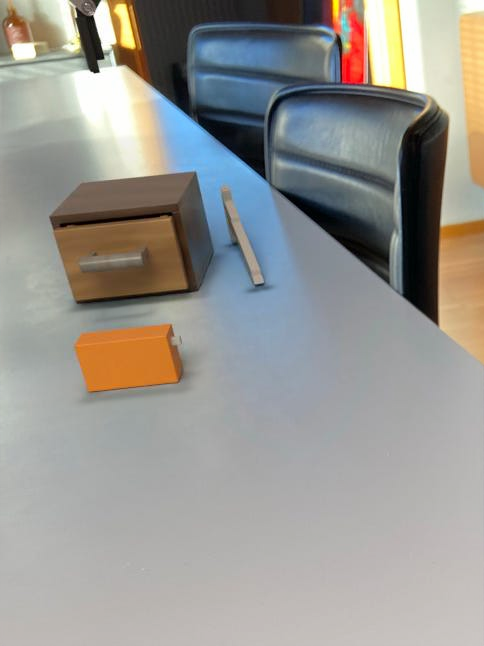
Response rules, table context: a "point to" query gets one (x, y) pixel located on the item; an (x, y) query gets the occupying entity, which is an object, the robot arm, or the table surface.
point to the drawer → (122, 256)
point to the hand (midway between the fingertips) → (35, 79)
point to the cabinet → (146, 199)
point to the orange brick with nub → (129, 357)
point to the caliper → (240, 235)
